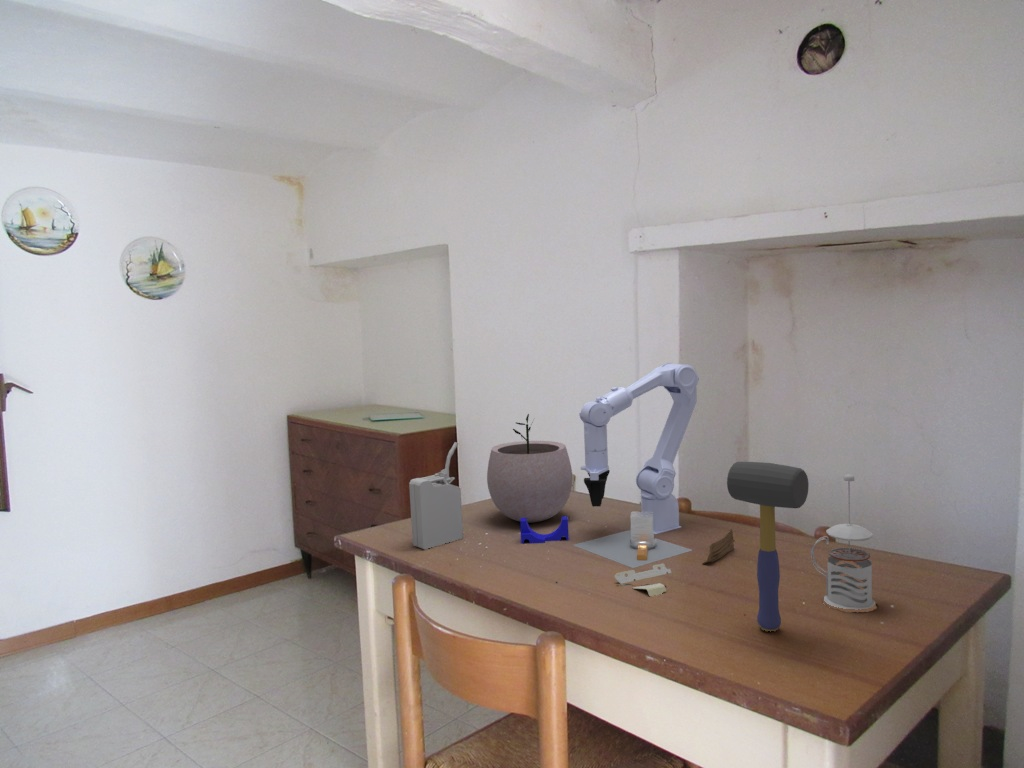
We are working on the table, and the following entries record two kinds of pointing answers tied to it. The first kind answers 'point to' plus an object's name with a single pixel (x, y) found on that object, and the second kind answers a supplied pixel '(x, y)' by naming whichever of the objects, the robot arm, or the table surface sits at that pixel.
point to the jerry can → (436, 509)
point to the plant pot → (529, 478)
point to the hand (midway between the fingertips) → (597, 502)
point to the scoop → (643, 548)
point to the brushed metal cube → (642, 526)
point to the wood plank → (721, 547)
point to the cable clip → (541, 538)
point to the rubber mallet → (768, 521)
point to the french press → (848, 592)
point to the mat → (629, 549)
